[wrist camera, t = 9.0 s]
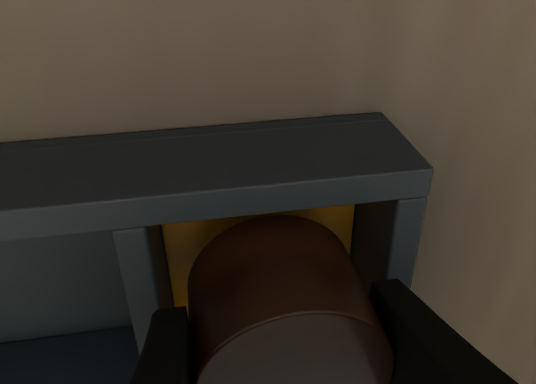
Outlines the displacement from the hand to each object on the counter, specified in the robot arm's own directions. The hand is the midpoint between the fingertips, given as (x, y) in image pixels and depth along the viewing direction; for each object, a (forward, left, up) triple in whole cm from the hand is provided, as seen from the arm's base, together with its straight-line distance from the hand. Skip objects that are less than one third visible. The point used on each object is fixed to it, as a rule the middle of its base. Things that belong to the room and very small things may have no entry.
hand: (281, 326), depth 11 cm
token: (0, 0, -1) cm, 1 cm away
